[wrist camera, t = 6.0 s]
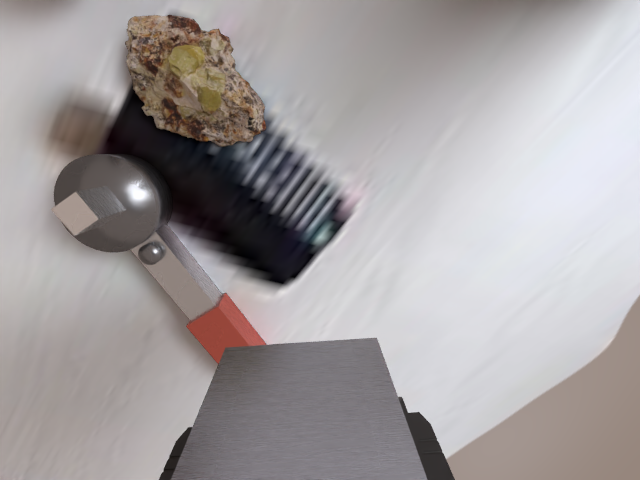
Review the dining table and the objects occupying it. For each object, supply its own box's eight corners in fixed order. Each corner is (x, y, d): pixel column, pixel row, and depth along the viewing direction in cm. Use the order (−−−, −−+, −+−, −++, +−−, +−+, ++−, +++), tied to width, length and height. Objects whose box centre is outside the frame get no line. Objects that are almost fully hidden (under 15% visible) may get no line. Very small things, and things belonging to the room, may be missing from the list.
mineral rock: (89, 93, 22) (126, -32, 18) (127, 88, 26) (165, -17, 22) (227, 186, 24) (284, 91, 21) (244, 168, 28) (295, 85, 25)
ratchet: (132, 135, 25) (77, 132, 19) (284, 335, 30) (279, 382, 24) (63, 185, 26) (-11, 196, 20) (222, 372, 31) (202, 425, 25)
